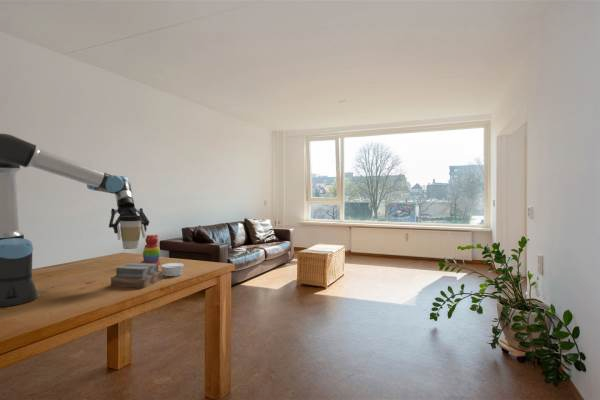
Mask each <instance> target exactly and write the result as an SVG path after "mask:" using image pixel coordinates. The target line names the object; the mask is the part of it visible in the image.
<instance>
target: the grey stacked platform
mask: <svg viewBox="0 0 600 400" xmlns="http://www.w3.org/2000/svg"><path fill="white" fill-rule="evenodd" d="M115 269H116V270H115V271H116V273H115V274H116V275H114V276H111V277H110V287H121V288H134V287H136V288H137V289H144V288H147V287H149V286H151V285H153V284H156V283H157V281H158V282H159V280H160V281H161V279H162V280H163V276H164V275H163V271H162V270H159V265H158V264H153V263H140V262H131V263H128V264H125V265H122V266H119V267H115ZM155 282H156V283H155ZM136 288H135V289H136Z"/></svg>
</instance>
